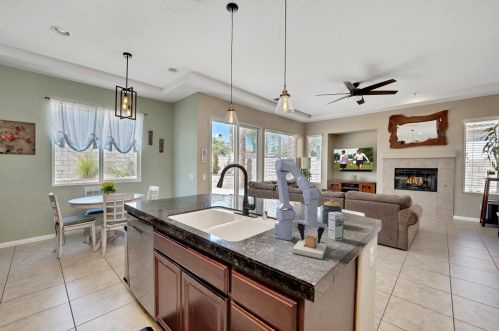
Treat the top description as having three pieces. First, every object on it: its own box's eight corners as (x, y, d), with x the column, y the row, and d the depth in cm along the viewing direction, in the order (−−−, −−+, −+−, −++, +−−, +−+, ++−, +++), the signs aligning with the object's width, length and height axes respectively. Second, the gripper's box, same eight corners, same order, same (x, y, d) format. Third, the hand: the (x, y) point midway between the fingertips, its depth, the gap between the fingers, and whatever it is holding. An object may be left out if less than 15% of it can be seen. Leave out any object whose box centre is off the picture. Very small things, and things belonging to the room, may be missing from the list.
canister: (328, 221, 155) (328, 196, 155) (345, 225, 145) (346, 199, 145) (318, 224, 146) (318, 198, 146) (336, 228, 136) (336, 201, 136)
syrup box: (334, 241, 115) (335, 214, 115) (327, 237, 120) (328, 211, 120) (343, 240, 116) (344, 213, 116) (336, 236, 122) (337, 211, 122)
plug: (304, 249, 101) (305, 237, 101) (308, 246, 106) (308, 234, 106) (313, 251, 99) (313, 239, 99) (316, 247, 104) (316, 236, 104)
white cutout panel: (292, 253, 98) (292, 247, 98) (301, 242, 112) (301, 236, 112) (322, 259, 92) (322, 252, 92) (327, 247, 106) (327, 241, 106)
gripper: (328, 213, 102) (328, 242, 102) (299, 209, 109) (298, 236, 109) (325, 216, 96) (324, 246, 96) (294, 212, 103) (293, 240, 103)
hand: (310, 241), depth 102 cm, fingers open, 7 cm apart
